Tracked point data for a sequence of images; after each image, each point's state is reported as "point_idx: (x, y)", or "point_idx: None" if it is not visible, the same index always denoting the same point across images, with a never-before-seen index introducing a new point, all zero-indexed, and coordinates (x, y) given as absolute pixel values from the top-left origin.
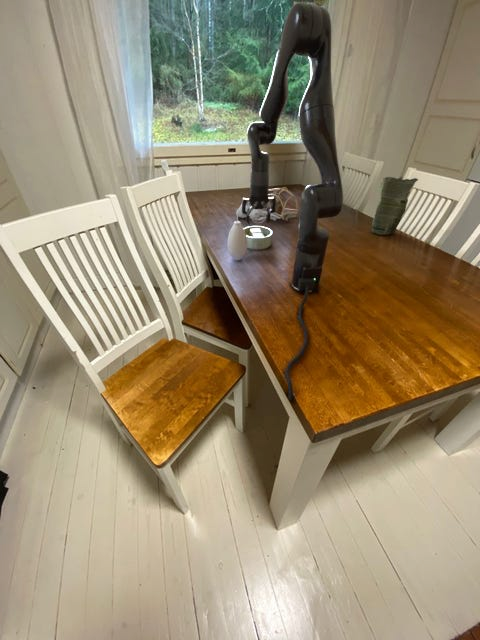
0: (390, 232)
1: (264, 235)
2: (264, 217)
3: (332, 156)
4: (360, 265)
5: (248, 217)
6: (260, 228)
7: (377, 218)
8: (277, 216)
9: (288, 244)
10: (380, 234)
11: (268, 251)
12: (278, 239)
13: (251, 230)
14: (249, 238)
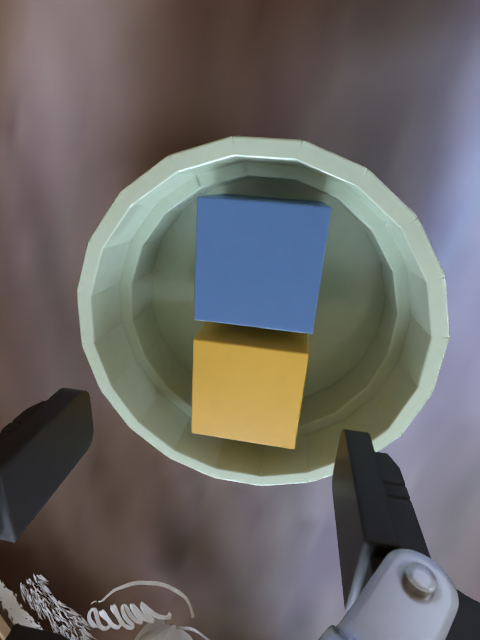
0: None
1: (165, 367)
2: (99, 620)
3: None
4: None
5: (384, 511)
6: (179, 437)
7: None
8: (9, 608)
9: (2, 216)
10: None
11: (198, 100)
12: (67, 327)
13: (291, 404)
14: (394, 195)
